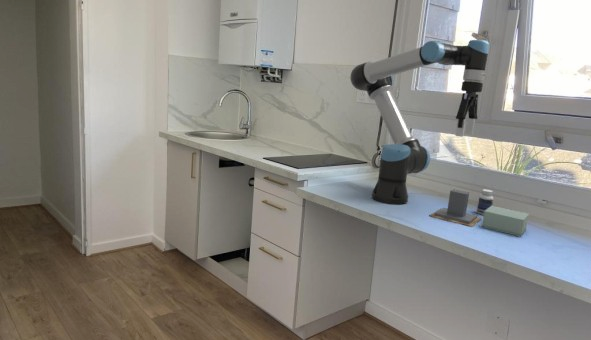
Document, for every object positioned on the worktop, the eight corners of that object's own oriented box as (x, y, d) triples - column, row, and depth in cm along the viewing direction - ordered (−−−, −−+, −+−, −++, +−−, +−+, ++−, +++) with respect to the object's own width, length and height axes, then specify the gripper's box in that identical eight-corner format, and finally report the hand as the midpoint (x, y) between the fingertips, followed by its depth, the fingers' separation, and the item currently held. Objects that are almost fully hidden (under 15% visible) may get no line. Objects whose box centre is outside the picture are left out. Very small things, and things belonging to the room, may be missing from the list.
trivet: (429, 216, 167) (429, 215, 167) (440, 209, 179) (441, 208, 179) (472, 227, 158) (472, 226, 158) (481, 219, 170) (481, 218, 169)
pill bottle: (491, 216, 175) (496, 192, 173) (477, 214, 176) (482, 191, 174) (488, 212, 180) (493, 189, 178) (475, 210, 181) (479, 188, 179)
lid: (434, 215, 168) (438, 190, 166) (443, 209, 177) (447, 186, 175) (469, 224, 160) (473, 197, 158) (476, 217, 169) (481, 193, 167)
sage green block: (481, 226, 160) (484, 211, 159) (488, 220, 169) (491, 205, 167) (520, 236, 152) (524, 220, 151) (526, 229, 161) (529, 213, 160)
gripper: (474, 80, 158) (464, 138, 163) (490, 83, 178) (481, 135, 183) (453, 79, 163) (444, 135, 167) (471, 82, 182) (463, 132, 187)
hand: (464, 135), depth 175 cm, fingers open, 13 cm apart
